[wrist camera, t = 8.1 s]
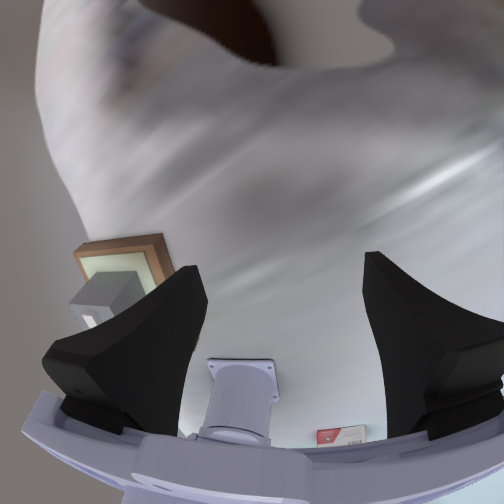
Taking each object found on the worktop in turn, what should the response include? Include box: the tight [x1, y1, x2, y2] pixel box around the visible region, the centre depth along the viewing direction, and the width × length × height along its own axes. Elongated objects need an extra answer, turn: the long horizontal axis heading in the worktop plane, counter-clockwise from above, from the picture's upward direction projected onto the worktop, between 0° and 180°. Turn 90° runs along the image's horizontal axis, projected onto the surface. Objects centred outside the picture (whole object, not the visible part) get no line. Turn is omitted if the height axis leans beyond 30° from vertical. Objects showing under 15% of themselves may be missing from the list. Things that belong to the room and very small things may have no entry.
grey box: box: [69, 271, 146, 331], centre depth 23 cm, size 5×8×6 cm, turn 8°
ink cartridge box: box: [317, 425, 367, 448], centre depth 34 cm, size 9×5×15 cm, turn 103°
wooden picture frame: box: [73, 234, 199, 351], centre depth 27 cm, size 13×10×2 cm
